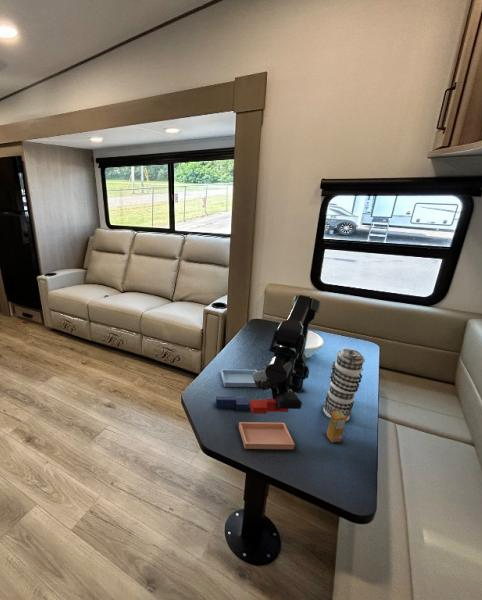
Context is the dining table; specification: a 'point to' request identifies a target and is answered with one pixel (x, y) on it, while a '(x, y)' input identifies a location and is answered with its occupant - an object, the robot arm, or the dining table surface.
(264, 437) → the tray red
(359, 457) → the dining table surface
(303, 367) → the robot arm
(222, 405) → the dark blue block
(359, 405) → the dining table surface
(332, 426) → the supplement box
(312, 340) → the bowl
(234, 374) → the tray blue
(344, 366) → the leaning tower model
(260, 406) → the red stepped block
